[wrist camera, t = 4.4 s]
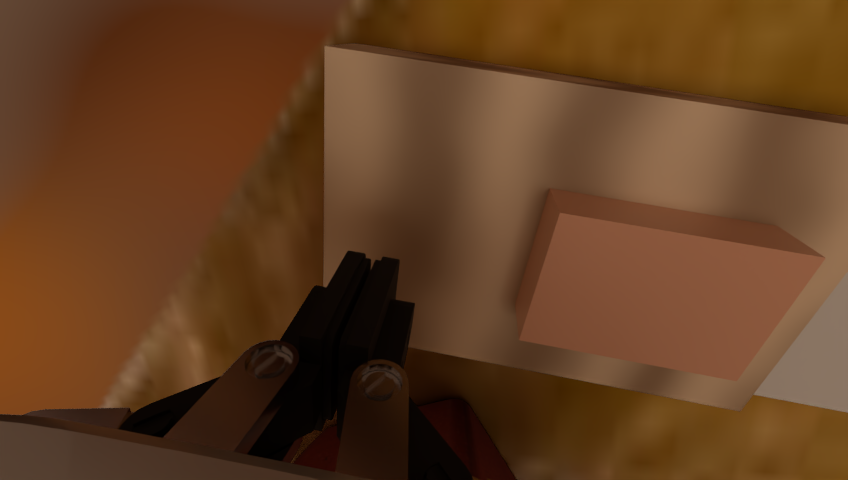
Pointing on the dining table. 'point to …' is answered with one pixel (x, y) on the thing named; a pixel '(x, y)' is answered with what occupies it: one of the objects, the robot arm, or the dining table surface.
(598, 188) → the board
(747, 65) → the dining table surface
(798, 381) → the mat
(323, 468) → the plant pot
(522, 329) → the block
